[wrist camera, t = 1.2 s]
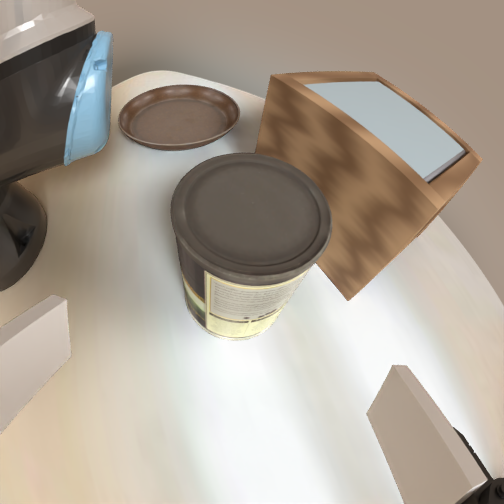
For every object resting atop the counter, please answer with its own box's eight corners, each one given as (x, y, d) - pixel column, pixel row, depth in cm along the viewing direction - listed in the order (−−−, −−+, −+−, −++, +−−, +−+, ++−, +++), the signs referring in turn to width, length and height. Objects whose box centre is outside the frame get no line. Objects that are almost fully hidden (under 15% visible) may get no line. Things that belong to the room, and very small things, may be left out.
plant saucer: (259, 120, 48) (263, 105, 45) (183, 179, 37) (182, 161, 34) (177, 89, 51) (177, 76, 48) (98, 134, 41) (95, 119, 38)
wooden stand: (248, 186, 38) (270, 74, 24) (339, 152, 46) (373, 72, 32) (348, 301, 31) (438, 209, 17) (421, 232, 39) (482, 159, 25)
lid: (300, 92, 25) (303, 84, 24) (375, 87, 31) (378, 81, 30) (421, 191, 19) (427, 182, 19) (463, 157, 26) (466, 152, 25)
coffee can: (164, 303, 28) (135, 215, 16) (222, 236, 33) (234, 135, 21) (249, 362, 26) (286, 315, 14) (299, 284, 31) (353, 198, 19)
